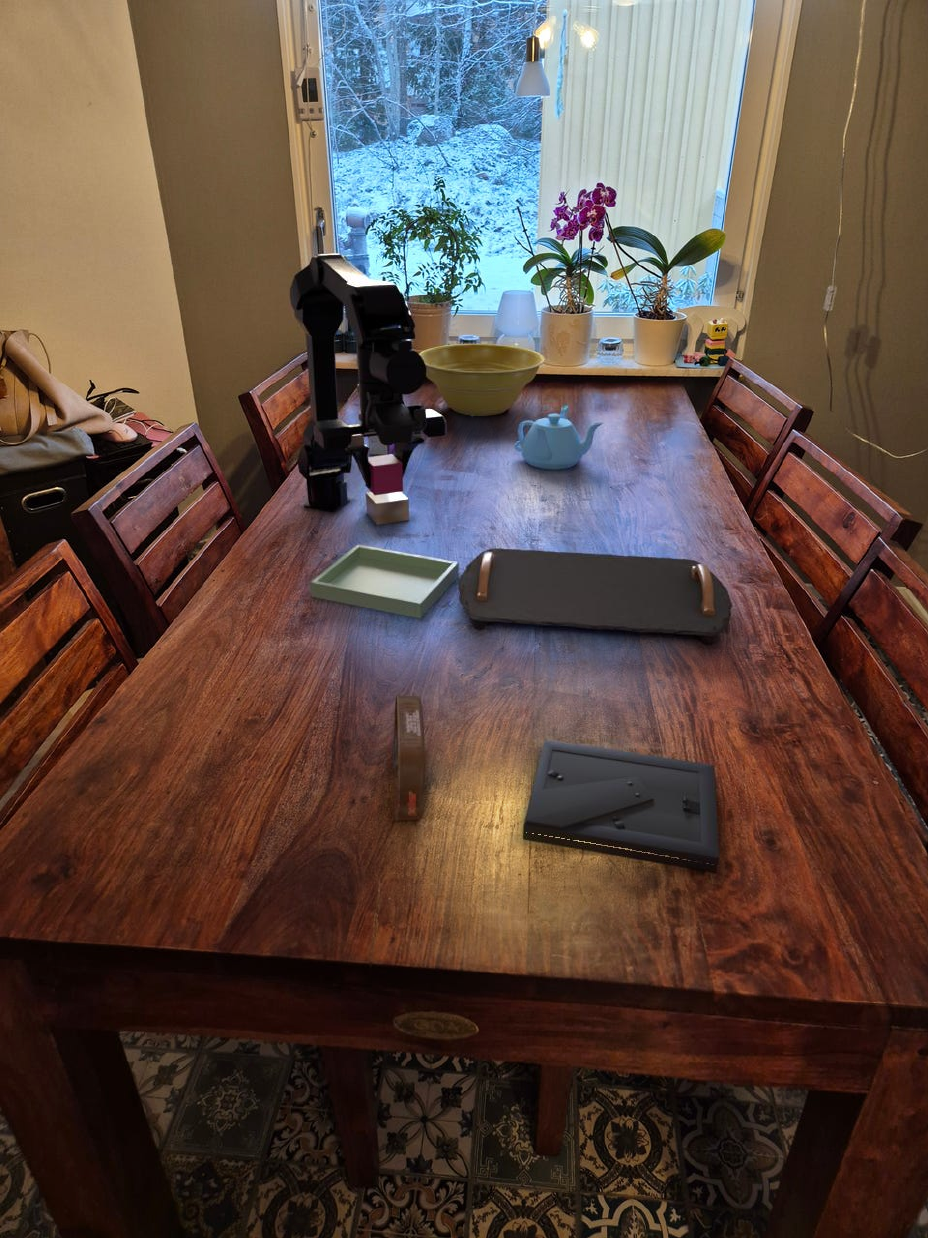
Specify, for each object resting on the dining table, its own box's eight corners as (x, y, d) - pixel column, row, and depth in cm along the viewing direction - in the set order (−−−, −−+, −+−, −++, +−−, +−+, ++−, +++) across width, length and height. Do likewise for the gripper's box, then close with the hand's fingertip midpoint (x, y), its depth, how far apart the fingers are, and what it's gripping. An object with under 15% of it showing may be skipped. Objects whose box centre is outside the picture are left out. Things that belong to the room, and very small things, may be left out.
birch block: (377, 524, 144) (376, 503, 142) (366, 513, 149) (365, 492, 147) (409, 520, 146) (408, 498, 144) (397, 508, 151) (397, 487, 149)
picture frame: (522, 839, 77) (716, 873, 74) (523, 822, 76) (720, 855, 73) (543, 753, 89) (711, 779, 85) (544, 736, 88) (715, 762, 84)
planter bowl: (546, 427, 197) (549, 371, 191) (413, 426, 198) (412, 369, 191) (537, 394, 225) (540, 344, 219) (421, 392, 226) (420, 342, 219)
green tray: (311, 596, 120) (309, 582, 119) (357, 557, 132) (356, 544, 131) (420, 618, 115) (420, 603, 113) (458, 576, 126) (458, 562, 125)
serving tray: (714, 576, 127) (721, 540, 124) (741, 655, 107) (749, 613, 104) (467, 562, 131) (468, 526, 128) (448, 635, 111) (448, 594, 108)
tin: (393, 742, 90) (390, 678, 86) (421, 740, 90) (420, 677, 86) (394, 840, 77) (391, 771, 73) (427, 838, 77) (426, 769, 73)
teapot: (506, 455, 179) (507, 408, 173) (567, 447, 183) (570, 402, 178) (536, 477, 167) (538, 427, 162) (600, 468, 172) (604, 419, 167)
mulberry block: (374, 495, 121) (373, 466, 118) (365, 486, 124) (363, 457, 122) (403, 491, 122) (402, 462, 120) (393, 482, 126) (392, 453, 124)
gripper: (330, 398, 106) (339, 512, 113) (462, 385, 112) (462, 493, 120) (308, 381, 115) (317, 487, 122) (431, 369, 121) (433, 471, 129)
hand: (383, 485), depth 123 cm, fingers closed on mulberry block, 4 cm apart
